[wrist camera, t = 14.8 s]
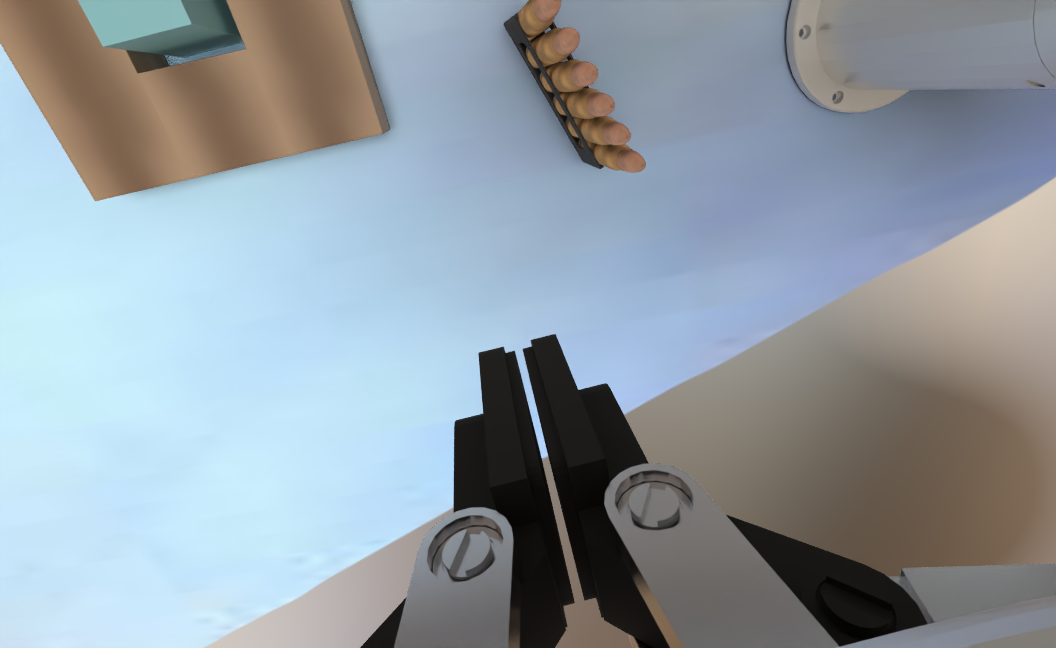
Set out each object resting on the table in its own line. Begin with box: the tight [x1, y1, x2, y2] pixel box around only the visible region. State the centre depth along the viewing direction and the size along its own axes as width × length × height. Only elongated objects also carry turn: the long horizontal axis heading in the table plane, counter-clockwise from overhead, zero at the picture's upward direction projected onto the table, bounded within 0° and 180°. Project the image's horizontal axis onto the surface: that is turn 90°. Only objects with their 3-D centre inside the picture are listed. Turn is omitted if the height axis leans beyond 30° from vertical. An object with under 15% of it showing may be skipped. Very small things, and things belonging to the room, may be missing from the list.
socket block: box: [0, 0, 390, 201], centre depth 28 cm, size 18×18×4 cm
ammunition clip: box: [504, 0, 646, 173], centre depth 29 cm, size 11×2×12 cm, turn 33°
